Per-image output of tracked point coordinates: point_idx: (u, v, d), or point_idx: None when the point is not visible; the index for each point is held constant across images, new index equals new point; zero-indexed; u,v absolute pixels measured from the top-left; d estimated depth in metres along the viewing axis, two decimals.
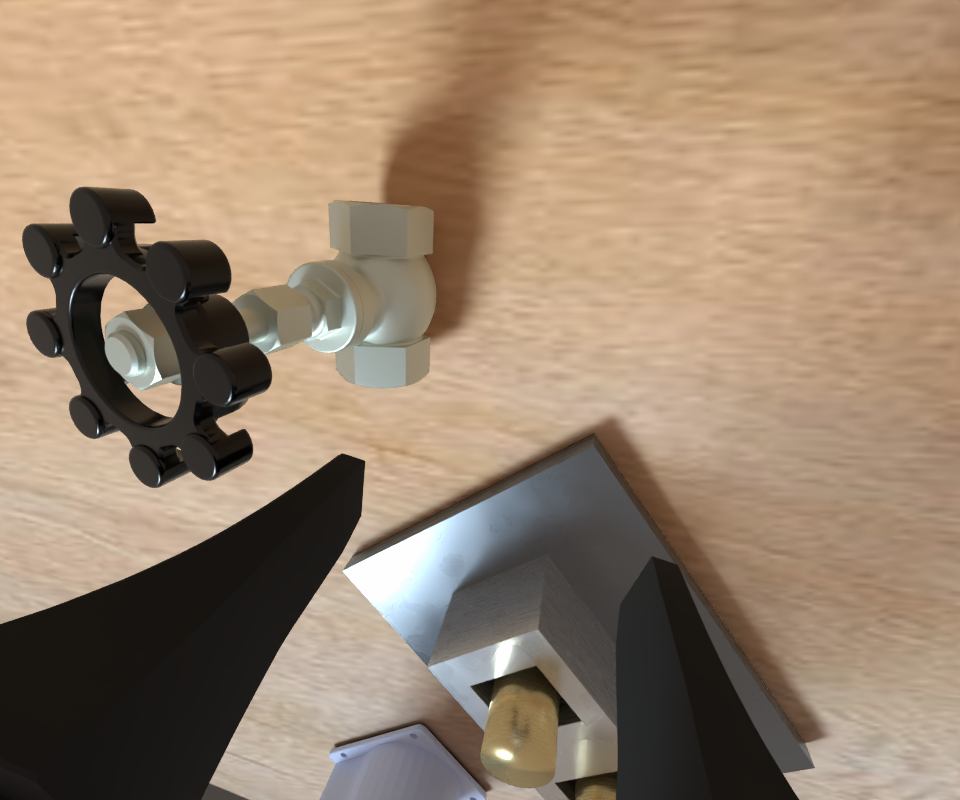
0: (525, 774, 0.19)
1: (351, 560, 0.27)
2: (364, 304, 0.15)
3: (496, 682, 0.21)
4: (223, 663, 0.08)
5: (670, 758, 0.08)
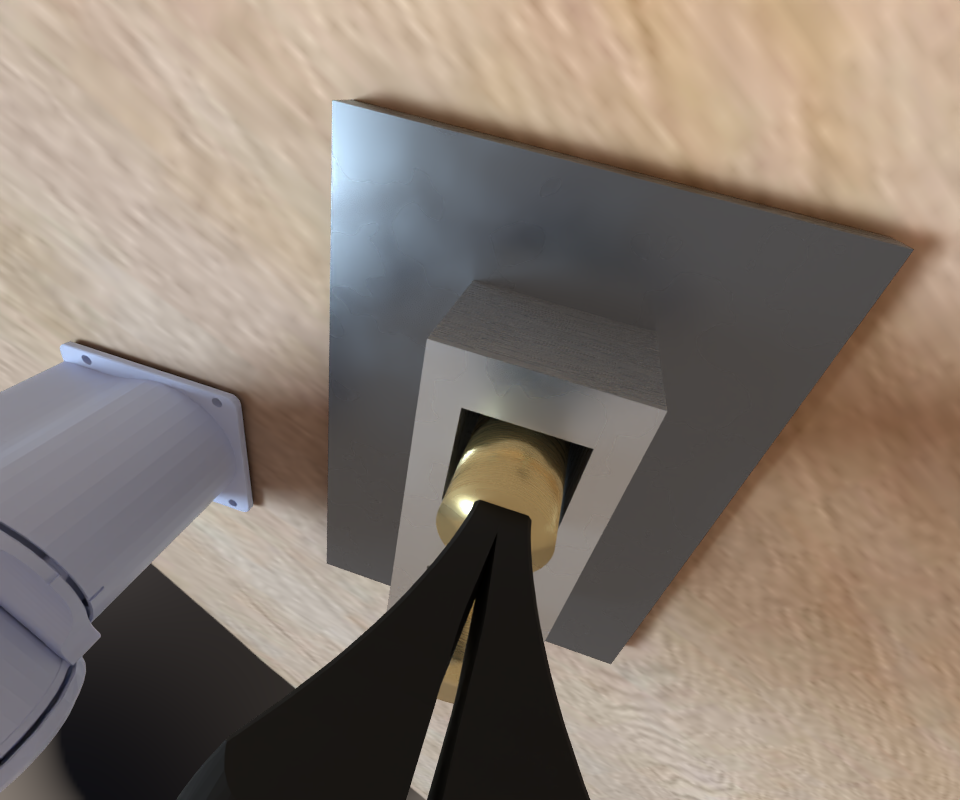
0: None
1: (352, 101, 0.14)
2: None
3: (502, 422, 0.13)
4: None
5: (466, 682, 0.08)
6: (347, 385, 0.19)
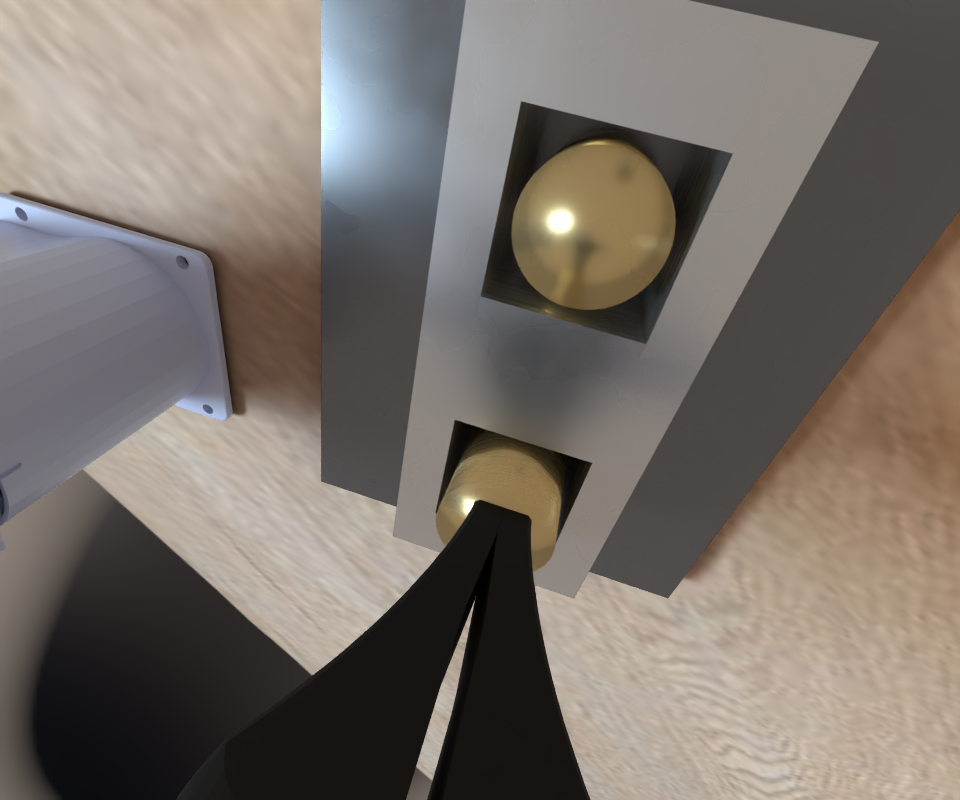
0: (577, 267, 0.09)
1: None
2: None
3: (586, 136, 0.10)
4: None
5: (466, 682, 0.08)
6: (345, 208, 0.15)
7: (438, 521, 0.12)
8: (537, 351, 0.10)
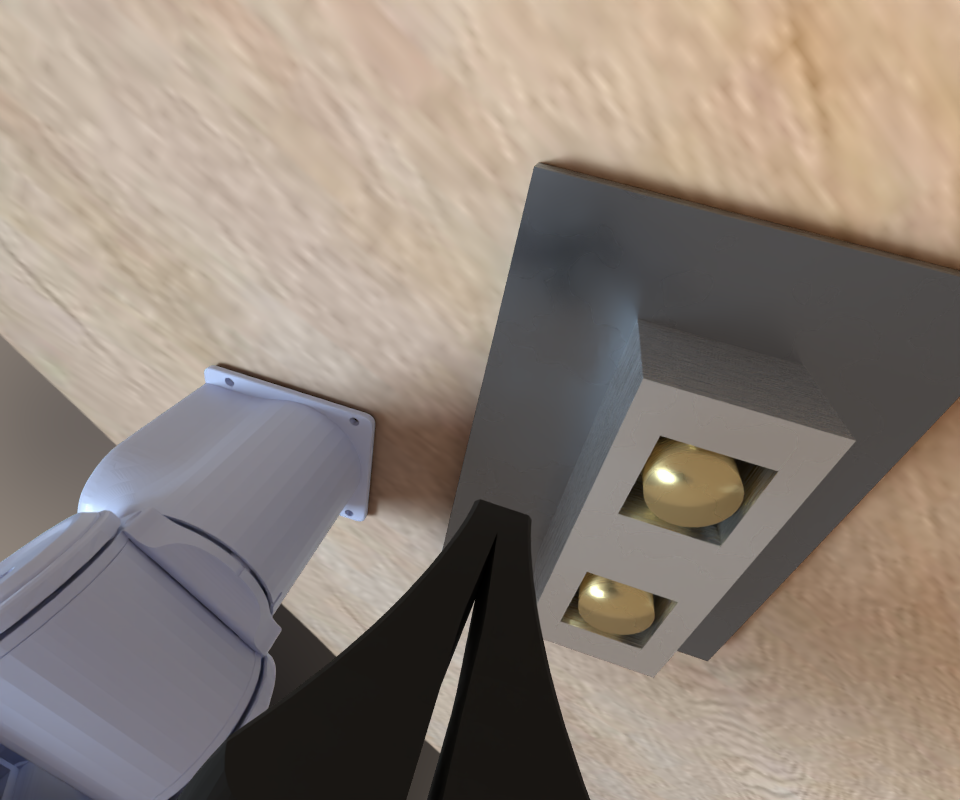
0: (682, 507, 0.16)
1: (543, 165, 0.16)
2: None
3: None
4: None
5: (466, 682, 0.08)
6: (494, 408, 0.21)
7: (580, 603, 0.20)
8: (650, 542, 0.17)
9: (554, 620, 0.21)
